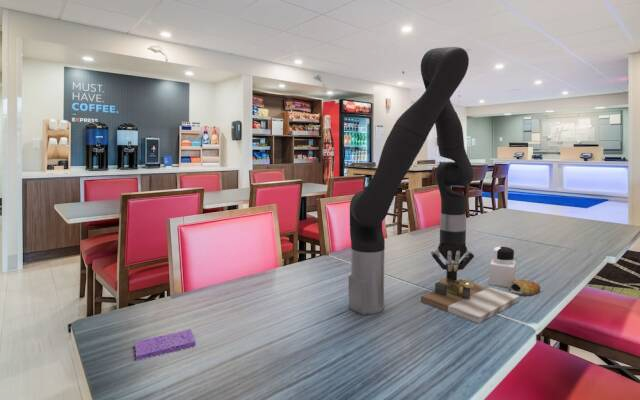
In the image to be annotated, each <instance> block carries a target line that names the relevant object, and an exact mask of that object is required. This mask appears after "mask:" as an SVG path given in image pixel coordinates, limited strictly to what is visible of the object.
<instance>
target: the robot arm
mask: <svg viewBox="0 0 640 400" xmlns="http://www.w3.org/2000/svg"><path fill="white" fill-rule="evenodd" d="M420 62H421V63H420V75H421V79H422V82H423V85H424V87H425V91H424V92H423V93H422V95H421V96H420V97H419V98H418V99H417V100H416V101H415V102H414V103H413V104H412V105H411V106H410V107H408V108H407V109H406V110H405V111H404V112H403V113H401V115H400V116H399V117H398V118H397V120H396V121H395V123H394V124H393V126H392V129H391V130H390V132H389V134H388V136H387V138H386V140H385V142H384V145H383V147H382V150H381V154H380V156H379V160H378V165H377V167H376V169H375V172H374V174H373V176H372V178H371V179H370V180H369V182H368V184H367V186H366V188H365V189H364V190H363V189H362V190H360V191H358V192H356V193H355V194H354V195H353V196H352V198H351V200H350V204H349V236H350V275H348V309H351V310H352V311H355V312H357V313H359V314H360V315H372V314H373V315H374V314H378V313H381V312H383V311H384V308H385V236H384V233H383V221H384V220H385V218H386V217H387V215H388V213H389V210H390V208H391V205H392V203H393V201H394V198H395V196H396V193H397V192H398V189H399V187H400V186H401V183H402V182H403V179H404V178H405V177H406V175H407V174H408V172H409V170H410V169H411V167H412V165H413V163H414V161H415V160H416V158H417V156H418V155H419V153H420V152H421V150H422V148H423V147H424V144H425V143H426V141H427V138H428V137H429V134H430V132H431V131H432V130H433V129H432V128H433V127H434V125H435V130H436V131H435V132H436V137H437V145H438V148H437V149H438V154H439V156H440V157H442V158H445V159H448V160H451V161H449V162H447V161H443V162H440V163H439V164H438V166H437V167H436V170H435V180H436V183H437V187H438V191H439V196H440V203H441V204H440V205H441V206H440V219H439V244H438V246H437V249H436V250H435V251H431V252H430V255H431V257H432V258H433V259H434V260H435V262H436V263H437V264H438V265H439V267H440V268H441V269H442V270H445V271H446V273H445V274H446V277H445V278H448V279H451V280H454V281H456V280H458V271H460V270H461V271H463V270H464V269H465V268H466V266H468V264H470V262H471V261H472V260H473V259H474V258H475V255H474V254H473V252H471V251H469V250H468V247H467V246H466V242H467V240H466V239H467V238H466V236H467V217H466V215H467V214H466V213H467V211H466V210H467V209H466V207H467V206H466V204H467V201H466V200H467V198H466V196H465V195H464V194H462V193H459V192H456V191H453V190H452V188H451V186H452V187H466V186H469V185H470V184H471V183H472V181H473V180H474V175H475V174H474V169H473V166H472V164H471V161H470V159H469V157H468V154H467V151H466V148H465V140H464V139H465V138H464V131H463V129H464V128H463V125H462V123H461V122H462V121H461V120H460V118H459V116H458V114H457V111H456V110H455V108H454V106H453V104H452V101H451V97H452V96H453V95H454V93H455V92H456V90H457V89H458V88H459V86H460V85H461V83H462V82H463V79H464V78H465V76H466V74H467V71H468V69H469V63H470V58H469V54H468V52H467V51H466V50H465V49H464V48H462V47H458V46H447V47H435V48H431V49H429V50H428V51H426V52H425V53H424V55H423V56H422V59H421V61H420ZM441 256H442V257H443V258H444V259H445V264H444V262H443V261H442V260H441V259H440V258H441Z"/></svg>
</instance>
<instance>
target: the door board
mask: <svg viewBox="0 0 640 400" xmlns="http://www.w3.org/2000/svg"><path fill="white" fill-rule="evenodd" d="M519 301H520V296H519V295H518V294H514V293H510V292H506V291H504V290H500V289H496V288H493V287H490V286H486V285H482V284H479V283H476V282H474V287H473V288H464V287H463V294H461V295H455V294H452V293H450V292H448V291H447V285H446V284H443V283H440V282H438V281H437V282H435V283H434V291H430V292H429V293H426V294H423V295H421V296H420V302H421V303H424V304H426V305H429V306H432V307H435V308H437V309H440V310H443V311H444V312H447V313H450V314H453V315H456V316H458V317H460V318H463V319H466V320H469V321H472V322H475V323H477V324H481V323H482V322H484V321H486V320H487V319H490V318H491V317H493V316H495V315H497V314H499V313H500V312H502V311H504V310H506V309H507V308H509V307H511V306H513V305H515V304H516V303H519Z"/></svg>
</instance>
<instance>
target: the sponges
mask: <svg viewBox="0 0 640 400" xmlns="http://www.w3.org/2000/svg"><path fill="white" fill-rule="evenodd" d="M194 336H195V335H194V333H193V331H192V329H191V328H190V329H185V330H181V331H178V332H173V333H168V334H163V335H158V336H154V337H149V338H145V339H144V338H143V339H140V340H135V341H134V351H136V352H135V361H136V360H137V359H141V360H143V359H142V358H145V359H147V358H146V357H150V358H152V357H151V356H154V357H157V356H156V355H158V356H161V355H160V354H162V355H165V353H166V354H170V353H169V352H171V353H174V352H173V351H175V352H179V351H182V350H181V349H184V350H187V349H186V348H188V349H191V348H190V347H192V348H195V347H194V346H196V338H195V337H194ZM137 361H138V360H137Z"/></svg>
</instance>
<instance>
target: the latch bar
mask: <svg viewBox="0 0 640 400" xmlns="http://www.w3.org/2000/svg"><path fill="white" fill-rule="evenodd" d="M439 282H440V283H443V284H446V285H447V291H448V292H450V293H452V294H455V295H461V294H463V287H464V288H473V287H474V283H475V282H474V281H472V280H468V279H457V280H456V281H454V280H451V279H448V278H446V277H443V278H439Z"/></svg>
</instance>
